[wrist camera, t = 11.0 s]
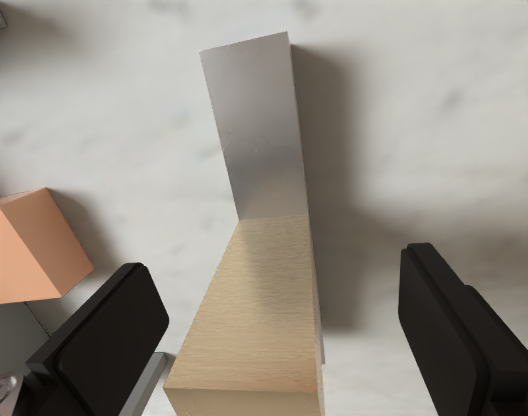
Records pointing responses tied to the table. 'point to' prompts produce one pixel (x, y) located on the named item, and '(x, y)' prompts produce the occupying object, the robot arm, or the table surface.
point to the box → (34, 336)
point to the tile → (37, 249)
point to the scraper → (257, 253)
